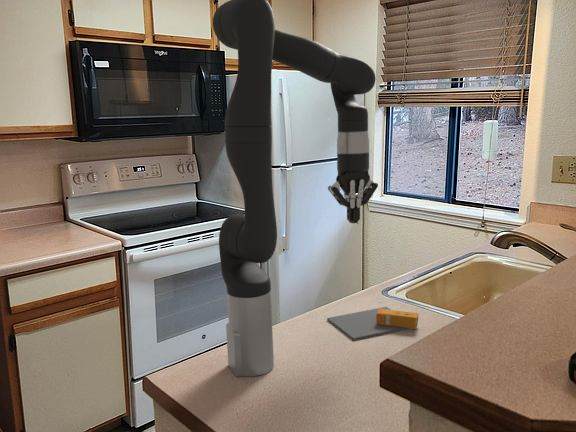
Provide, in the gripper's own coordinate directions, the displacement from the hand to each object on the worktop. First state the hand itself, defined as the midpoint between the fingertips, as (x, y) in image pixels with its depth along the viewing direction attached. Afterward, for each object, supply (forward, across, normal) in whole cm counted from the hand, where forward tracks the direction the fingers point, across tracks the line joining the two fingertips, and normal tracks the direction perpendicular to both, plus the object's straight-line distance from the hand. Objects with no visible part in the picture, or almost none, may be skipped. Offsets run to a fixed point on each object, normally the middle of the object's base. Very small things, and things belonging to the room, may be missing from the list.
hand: (353, 222), depth 128 cm
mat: (+27, -5, 0) cm, 27 cm away
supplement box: (+25, -6, +1) cm, 26 cm away
